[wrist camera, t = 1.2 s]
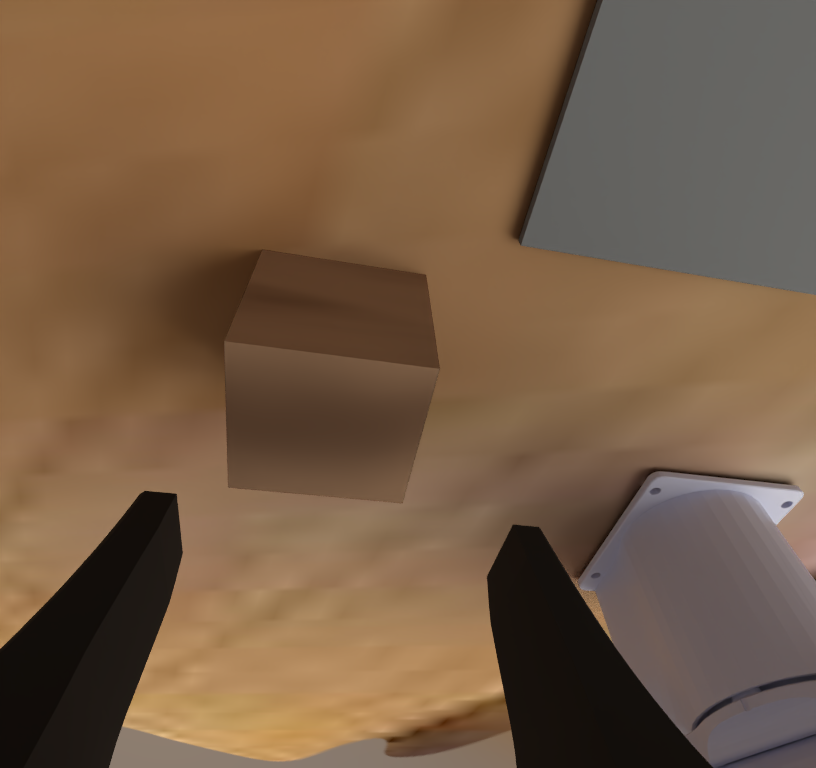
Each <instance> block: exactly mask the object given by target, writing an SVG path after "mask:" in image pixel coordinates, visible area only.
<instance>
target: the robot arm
mask: <svg viewBox="0 0 816 768" xmlns="http://www.w3.org/2000/svg"><path fill="white" fill-rule="evenodd" d="M803 496H804V493H803V492H802V490H801V489H800V488H799V487H798V486H795V485H785V484H776V483H767V482H757V481H748V480H739V479H729V478H720V477H711V476H701V475H692V474H683V473H673V472H664V471H657V472H654V473H652V474H650V475H649V476H648V477H647V479H646V480H645V482H644V483H643V485H642V486H641V488H640V489H639V491H638V492H637V494H636V495H635V497H634V498H633V499H632V501H631V502H630V504H629V505H628V507H627V508H626V510H625V511H624V513H623V514H622V516H621V517H620V519H619V520H618V522H617V523H616V525H615V526H614V528H613V529H612V531H611V532H610V534H609V535H608V537H607V538H606V539H605V541H604V542H603V544H602V545H601V547H600V548H599V550H598V551H597V553H596V554H595V556H594V557H593V559H592V560H591V562H590V563H589V565H588V566H587V568H586V569H585V571H584V572H583V574H582V575H581V576H580V578H579V579H578V584H579V587H580V588H581V589H583V590H590V591H595V592H596V595H597V598H598V601H599V603H600V606H601V609H602V612H603V615H604V618H605V621H606V624H607V627H608V630H609V633H610V635H611V638H612V641H613V643H612V641H611V640H610V638H609V637H608V636H607V634H606V633H605V631H604V630H603V628H602V627H601V625H600V624H599V622H598V621H597V619H596V618H595V616H594V615H593V613H592V612H591V610H590V609H589V607H588V606H587V604H586V602H585V601H584V599H583V598H582V596H581V595H580V593H579V591H578V590H577V588H576V587H575V585H574V583H573V582H572V580H571V579H570V577H569V575H568V574H567V572H566V571H565V569H564V567H563V566H562V564H561V562H560V561H559V559H558V557H557V556H556V554H555V552H554V551H553V549H552V547H551V546H550V544H549V542H548V541H547V539H546V537H545V536H544V534H543V532H542V531H541V529H540V528H539V527H532V526H521V525H513V526H512V528H511V530H510V532H509V534H508V536H507V538H506V540H505V542H504V544H503V546H502V548H501V550H500V552H499V554H498V556H497V558H496V560H495V562H494V564H493V566H492V568H491V570H490V572H489V574H488V576H487V582H488V597H489V609H490V620H491V627H492V632H493V638H494V643H495V648H496V653H497V659H498V664H499V669H500V674H501V679H502V684H503V689H504V694H505V699H506V704H507V709H508V714H509V719H510V724H511V730H512V736H513V741H514V748H515V756H516V765H517V768H816V581H815V580H814V578H813V577H812V576H811V574H810V573H809V571H808V570H807V569H806V567H805V566H804V564H803V563H802V561H801V560H800V559H799V557H798V556H797V554H796V553H795V552H794V550H793V549H792V547H791V546H790V545H789V543H788V542H787V540H786V539H785V537H784V536H783V535H782V533H781V532H780V530H779V529H778V528H777V526H776V525H777V524H778V523H779V522H780V521H781V519H782V518H783V517H784V516H785V515H786V514H787V513H788V512H789V511H790V510H791V509H792V508H793V507H794V506H795V505H796V504H797V503H798V502H799V501H800V500H801V499H802V497H803ZM182 554H183V551H182V542H181V532H180V522H179V512H178V503H177V494H173V493H162V492H151V491H144V492H143V493H141V494H140V495H139V496H138V497H137V499H136V500H135V501H134V502H133V504H132V505H131V506H130V508H129V509H128V510H127V511H126V513H125V514H124V515H123V516H122V518H121V519H120V520H119V521H118V523H117V524H116V525H115V526H114V528H113V529H112V530H111V531H110V532H109V534H108V535H107V536H106V537H105V538H104V540H103V541H102V542H101V543H100V544H99V545H98V547H97V548H96V549H95V550H94V551H93V552H92V554H91V555H90V556H89V557H88V558H87V559H86V560H85V561H84V563H83V564H82V565H81V566H80V567H79V568H78V569H77V570H76V571H75V573H74V574H73V575H72V576H71V577H70V578H69V579H68V580H67V581H66V583H65V584H64V585H63V586H62V587H61V588H60V589H59V590H58V591H57V592H56V593H55V594H54V596H53V597H52V598H51V599H50V600H49V601H48V602H47V603H46V604H45V605H44V606H43V607H42V608H41V609H40V610H39V611H38V612H37V613H36V614H35V615H34V616H33V617H32V618H31V619H30V620H29V621H28V622H27V623H26V624H25V625H24V626H23V627H22V628H21V629H20V630H19V631H18V632H17V633H16V634H15V635H14V636H13V637H12V638H11V639H10V640H9V641H8V642H7V643H6V644H5V645H4V646H3V647H2V648H1V649H0V768H109V765H110V762H111V759H112V755H113V752H114V748H115V745H116V742H117V739H118V736H119V733H120V730H121V727H122V725H123V722H124V719H125V716H126V713H127V711H128V708H129V706H130V703H131V701H132V698H133V695H134V693H135V690H136V688H137V685H138V683H139V680H140V677H141V675H142V672H143V670H144V667H145V665H146V662H147V660H148V657H149V654H150V652H151V649H152V647H153V644H154V642H155V639H156V636H157V634H158V631H159V629H160V626H161V623H162V621H163V618H164V616H165V613H166V610H167V608H168V605H169V602H170V599H171V595H172V591H173V588H174V584H175V581H176V577H177V573H178V569H179V565H180V562H181V558H182Z"/></svg>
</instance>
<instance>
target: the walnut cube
mask: <svg viewBox="0 0 816 768" xmlns="http://www.w3.org/2000/svg"><path fill="white" fill-rule="evenodd" d="M224 355H225V391H226V427H227V463H228V487H229V488H240V489H251V490H262V491H273V492H284V493H295V494H306V495H317V496H328V497H339V498H350V499H361V500H372V501H383V502H394V503H403V499H404V496H405V492H406V489H407V485H408V481H409V478H410V474H411V471H412V467H413V463H414V460H415V456H416V453H417V449H418V445H419V442H420V438H421V435H422V431H423V427H424V424H425V420H426V417H427V413H428V410H429V406H430V402H431V399H432V395H433V392H434V388H435V384H436V381H437V377H438V374H439V370H440V367H439V360H438V353H437V346H436V340H435V333H434V326H433V319H432V312H431V305H430V298H429V291H428V285H427V278H426V275H423V274H417V273H410V272H404V271H397V270H391V269H384V268H378V267H371V266H365V265H358V264H352V263H346V262H339V261H333V260H326V259H320V258H313V257H307V256H300V255H294V254H287V253H281V252H274V251H268V250H262V252H261V254H260V257H259V259H258V261H257V264H256V266H255V269H254V271H253V273H252V276H251V278H250V281H249V283H248V285H247V288H246V290H245V293H244V295H243V297H242V300H241V302H240V304H239V307H238V309H237V312H236V314H235V316H234V319H233V321H232V324H231V326H230V328H229V331H228V333H227V335H226V338H225V340H224Z"/></svg>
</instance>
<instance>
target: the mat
mask: <svg viewBox="0 0 816 768" xmlns="http://www.w3.org/2000/svg"><path fill="white" fill-rule="evenodd" d="M518 241H519V243H520V245H521V246H527V247H533V248H539V249H545V250H551V251H557V252H563V253H569V254H575V255H581V256H587V257H593V258H599V259H605V260H611V261H617V262H623V263H629V264H634V265H640V266H646V267H652V268H658V269H664V270H670V271H676V272H682V273H688V274H694V275H700V276H706V277H712V278H718V279H724V280H730V281H736V282H742V283H748V284H754V285H760V286H766V287H772V288H778V289H784V290H790V291H796V292H802V293H808V294H814V295H816V0H597V3H596V6H595V9H594V12H593V15H592V18H591V21H590V24H589V27H588V30H587V33H586V36H585V40H584V43H583V46H582V49H581V52H580V55H579V58H578V61H577V64H576V67H575V70H574V73H573V76H572V79H571V82H570V85H569V88H568V91H567V94H566V97H565V100H564V103H563V106H562V109H561V112H560V116H559V119H558V122H557V125H556V128H555V131H554V134H553V137H552V140H551V143H550V146H549V149H548V152H547V155H546V158H545V161H544V164H543V167H542V170H541V173H540V176H539V179H538V182H537V185H536V188H535V192H534V195H533V198H532V201H531V204H530V207H529V210H528V213H527V216H526V219H525V222H524V225H523V228H522V231H521V234H520V237H519V240H518Z"/></svg>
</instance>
